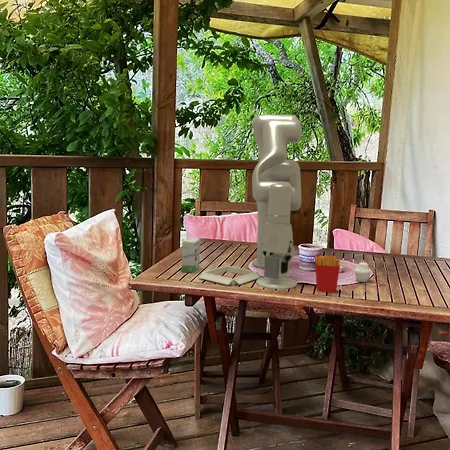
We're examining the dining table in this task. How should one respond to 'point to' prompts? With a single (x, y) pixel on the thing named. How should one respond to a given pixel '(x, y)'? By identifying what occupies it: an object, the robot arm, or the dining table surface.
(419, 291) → the dining table surface
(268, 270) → the block
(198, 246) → the ink box
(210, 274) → the beige square frame
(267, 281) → the cream round plate
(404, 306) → the dining table surface
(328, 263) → the french fries
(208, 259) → the dining table surface
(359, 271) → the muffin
